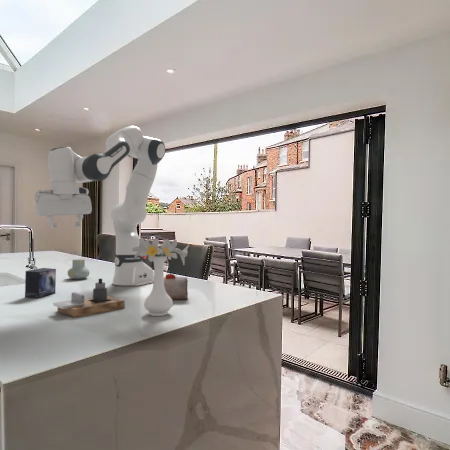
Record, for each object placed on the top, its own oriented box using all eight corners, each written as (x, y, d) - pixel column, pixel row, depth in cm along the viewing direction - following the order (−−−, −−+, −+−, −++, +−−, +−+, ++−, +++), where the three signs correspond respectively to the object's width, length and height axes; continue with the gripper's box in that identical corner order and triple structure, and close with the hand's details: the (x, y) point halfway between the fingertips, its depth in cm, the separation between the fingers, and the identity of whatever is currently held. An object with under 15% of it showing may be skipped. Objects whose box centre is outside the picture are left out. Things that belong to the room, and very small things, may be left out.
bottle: (103, 303, 129) (103, 277, 129) (108, 306, 126) (109, 279, 126) (90, 305, 126) (91, 278, 126) (96, 308, 123) (97, 280, 123)
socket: (106, 302, 135) (106, 295, 135) (124, 307, 127) (124, 300, 127) (57, 310, 121) (57, 303, 121) (74, 317, 113) (74, 309, 113)
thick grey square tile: (74, 301, 123) (74, 292, 123) (84, 305, 118) (84, 295, 118) (53, 305, 118) (53, 295, 118) (62, 309, 113) (62, 298, 113)
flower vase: (192, 316, 116) (193, 238, 116) (133, 321, 110) (134, 238, 110) (183, 307, 129) (184, 236, 128) (130, 310, 123) (130, 236, 122)
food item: (152, 301, 138) (152, 275, 138) (153, 297, 146) (153, 272, 146) (188, 300, 140) (188, 275, 140) (187, 296, 148) (187, 272, 148)
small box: (38, 298, 140) (38, 271, 140) (24, 297, 142) (24, 270, 141) (56, 293, 151) (56, 268, 151) (42, 292, 152) (42, 267, 152)
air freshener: (65, 278, 189) (66, 259, 189) (81, 276, 195) (81, 258, 195) (75, 280, 182) (75, 260, 182) (91, 279, 188) (91, 259, 188)
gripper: (38, 189, 125) (41, 229, 126) (92, 189, 141) (95, 225, 141) (30, 190, 129) (33, 229, 130) (84, 191, 145) (86, 225, 146)
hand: (66, 227), depth 136 cm, fingers open, 8 cm apart
